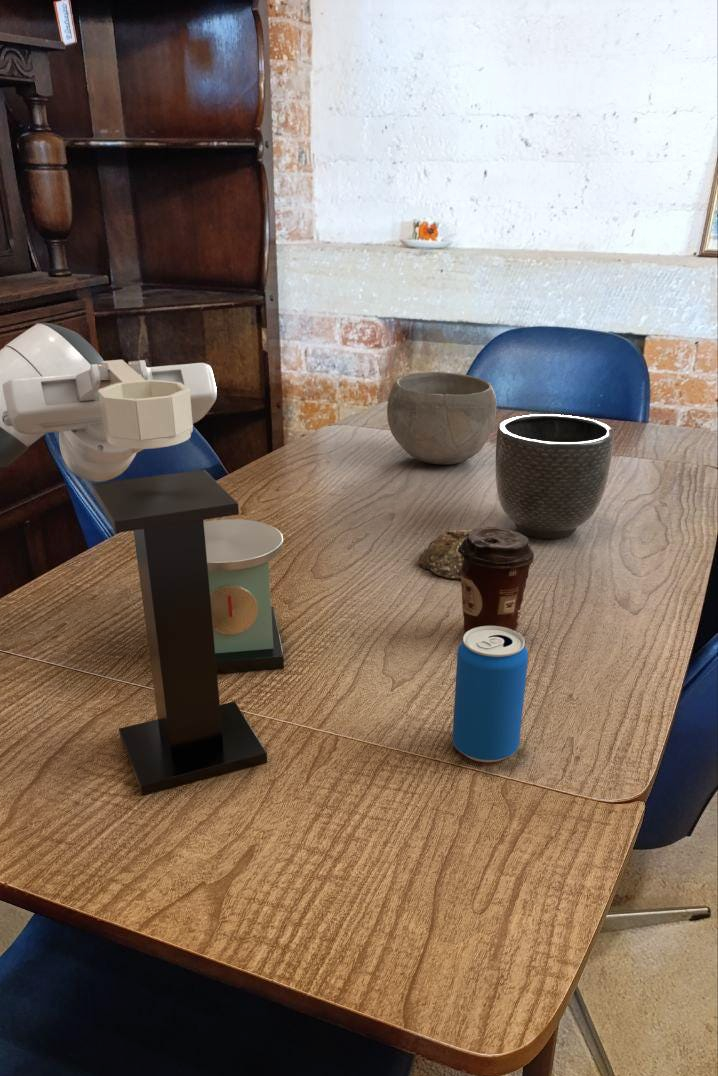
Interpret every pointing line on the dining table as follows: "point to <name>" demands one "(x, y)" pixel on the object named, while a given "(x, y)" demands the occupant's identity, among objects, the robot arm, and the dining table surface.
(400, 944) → the dining table surface
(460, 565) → the brown rock
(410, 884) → the dining table surface
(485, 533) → the coffee cup
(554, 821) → the dining table surface
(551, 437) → the planter
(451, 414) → the bowl
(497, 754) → the beverage can
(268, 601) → the scale
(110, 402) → the handled bowl
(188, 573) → the shelf stand
